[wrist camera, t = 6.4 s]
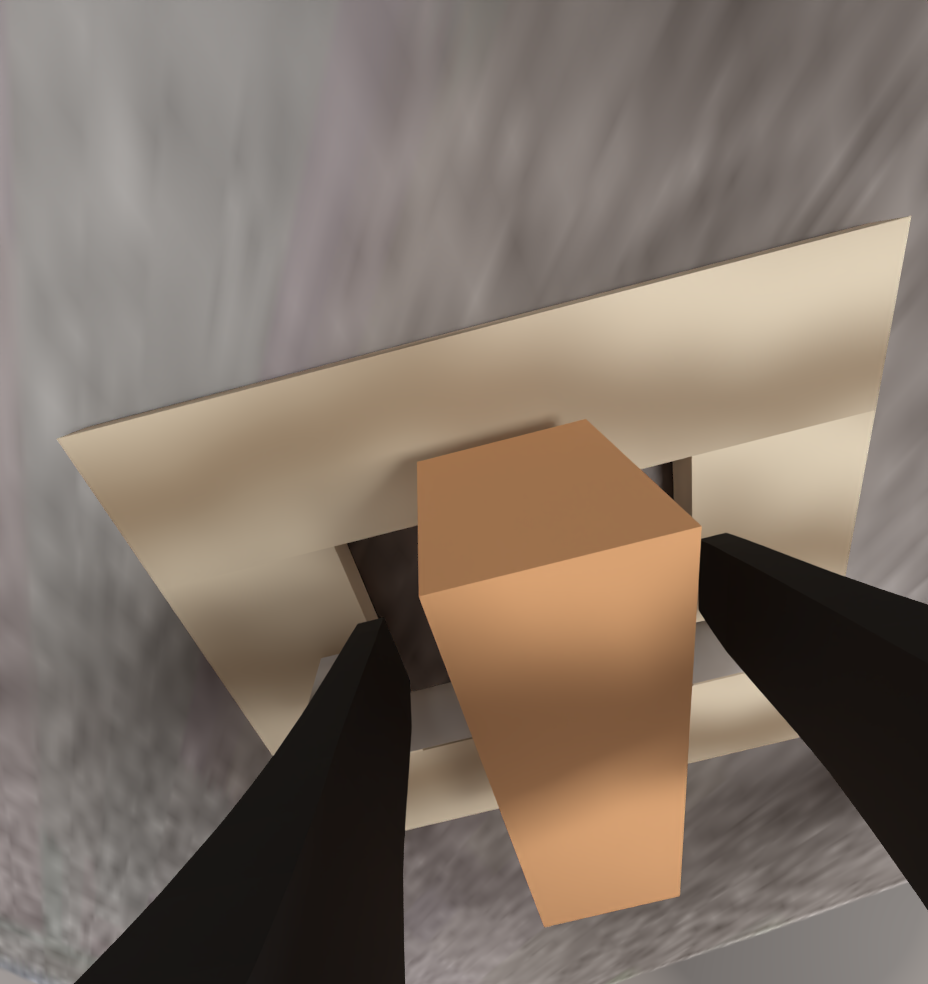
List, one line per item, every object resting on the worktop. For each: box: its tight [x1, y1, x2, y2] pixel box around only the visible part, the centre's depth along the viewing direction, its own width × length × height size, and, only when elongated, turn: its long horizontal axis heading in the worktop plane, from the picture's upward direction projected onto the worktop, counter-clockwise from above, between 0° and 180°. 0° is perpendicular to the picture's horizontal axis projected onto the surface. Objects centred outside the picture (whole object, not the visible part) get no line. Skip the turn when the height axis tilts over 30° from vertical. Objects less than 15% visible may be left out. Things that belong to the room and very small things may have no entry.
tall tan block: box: [417, 419, 702, 927], centre depth 11 cm, size 13×4×4 cm, turn 13°
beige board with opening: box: [57, 216, 911, 831], centre depth 13 cm, size 18×20×4 cm
